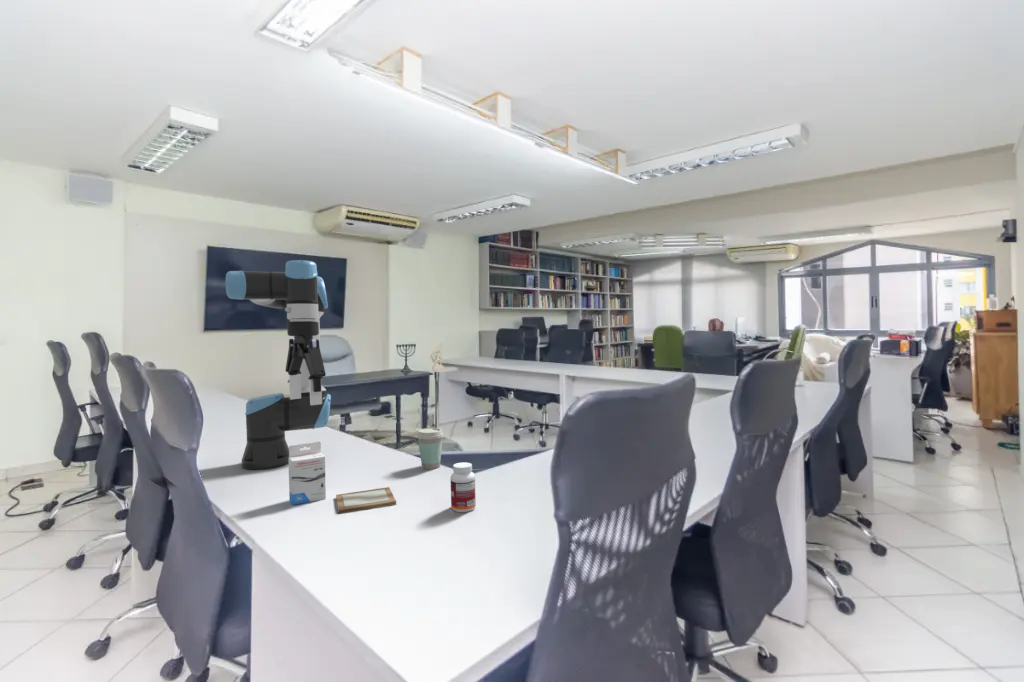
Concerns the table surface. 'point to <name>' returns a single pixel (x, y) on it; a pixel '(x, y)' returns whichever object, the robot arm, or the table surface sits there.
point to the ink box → (306, 473)
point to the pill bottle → (463, 488)
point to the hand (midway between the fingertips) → (305, 401)
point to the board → (365, 500)
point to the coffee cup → (430, 447)
